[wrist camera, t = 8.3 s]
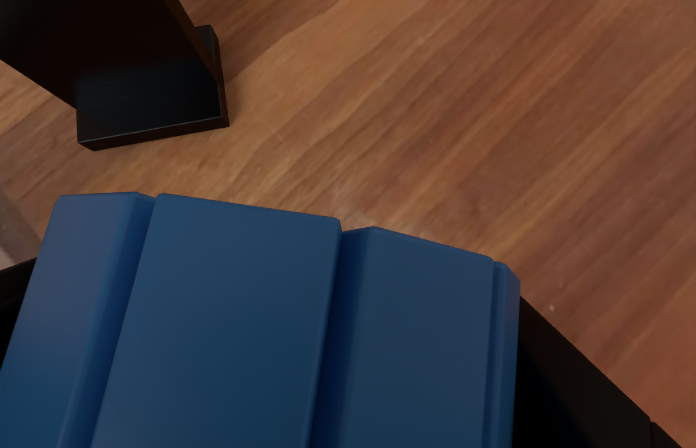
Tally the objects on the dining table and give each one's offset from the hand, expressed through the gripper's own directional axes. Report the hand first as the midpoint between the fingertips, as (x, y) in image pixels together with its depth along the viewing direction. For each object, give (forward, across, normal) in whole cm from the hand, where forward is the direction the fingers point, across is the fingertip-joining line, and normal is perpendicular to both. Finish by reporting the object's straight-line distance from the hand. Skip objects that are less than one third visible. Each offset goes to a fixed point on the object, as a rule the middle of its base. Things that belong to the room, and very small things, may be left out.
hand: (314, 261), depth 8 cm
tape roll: (0, 0, +2) cm, 2 cm away
